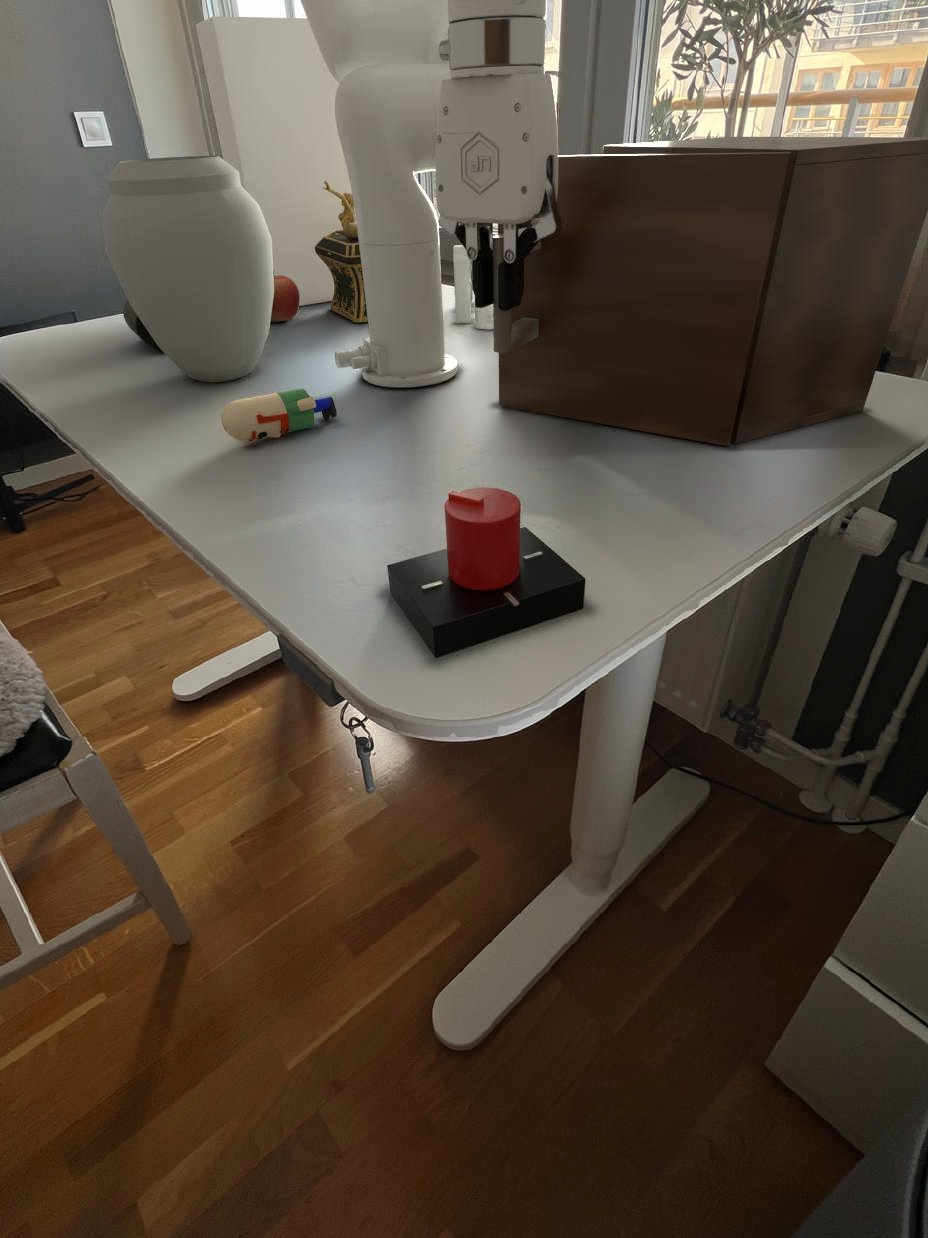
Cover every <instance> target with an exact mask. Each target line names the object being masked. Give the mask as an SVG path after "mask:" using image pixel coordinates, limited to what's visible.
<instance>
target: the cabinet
mask: <svg viewBox="0 0 928 1238" xmlns="http://www.w3.org/2000/svg"><path fill="white" fill-rule="evenodd" d="M774 152H791V153H792V154H791V159H790V163H789V168H788V173H787V178H786V182H785V187H784V192H783V197H782V201H781V206H780V211H779V216H778V220H777V225H776V230H775V235H774V239H773V244H772V249H771V254H770V258H769V263H768V268H767V273H766V277H765V282H764V287H763V292H762V296H761V301H760V306H759V311H758V315H757V320H756V325H755V330H754V334H753V339H752V344H751V349H750V353H749V358H748V363H747V368H746V372H745V377H744V382H743V387H742V391H741V396H740V401H739V406H738V410H737V415H736V420H735V425H734V429H733V434H732V439H731V443H730V444H733V445H737V444H742V443H745V442H749V441H753V440H757V439H760V438H763V437H768V436H771V435H775V434H780V433H784V432H788V431H791V430H795V429H799V428H802V427H806V426H810V425H814V424H817V423H822V422H825V421H829V420H833V419H836V418H840V417H844V416H848V415H852V414H855V413H859V412H862V411H864V408H865V406H866V402H867V401H868V396H869V394H870V390H871V387H872V384H873V381H874V378H875V374H876V371H877V369H878V366H879V363H880V359H881V357H882V353H883V350H884V347H885V345H886V341H887V338H888V334H889V332H890V329H891V327H892V326H891V325H892V323H893V320H894V316H895V313H896V310H897V308H898V307H897V306H898V304H899V301H900V298H901V295H902V292H903V289H904V286H905V282H906V279H907V276H908V274H909V270H910V267H911V265H912V260H913V257H914V255H915V252H916V248H917V246H918V242H919V239H920V236H921V234H922V230H923V227H924V224H925V221H926V218H927V215H928V136H926V137H922V136H920V137H919V136H918V137H917V136H914V137H912V136H910V137H908V136H875V137H874V136H721V137H708V138H693V139H692V138H691V139H679V140H678V139H677V140H664V141H649V142H636V143H619V144H605V145H602V155H631V154H703V153H774Z"/></svg>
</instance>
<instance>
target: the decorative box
mask: <svg viewBox="0 0 928 1238" xmlns="http://www.w3.org/2000/svg"><path fill="white" fill-rule="evenodd" d="M324 183H325V184H326V188H325V187H323V188H324V189H326V190H327V191H329V192H331V193H333V194H334V195H336V196H337V197H338V198H340V199H341V200H342V201H341V202H342V206H344V212H343V213H341V214H339V216H338V218H339V220H340V221H341V225H342V228H343V230H340V231H335V232H333V233H331V234H329V235H327V236H324V237H323V238H322V239H321V240H320V241H319V242H318V243H317V244H316V245H315V252H316V254H317V255H318V256H319V257H320V258H321V260H322V261H323V262H324V263H325V264H326V265H327V267H328V268H329V270H330V272H331V274H332V277H333V281H334V295H333V299H332V301H331V303H330V307H329V309H330V310H331V311H332V312H334V313H337V314H338V315H340V316H341V317H344V318H346V319H348V320H350V321H351V322H353V323H355V324H365V323H368V316H367V307H366V298H365V290H364V281H363V272H362V264H361V255H360V246H359V240H358V231H357V223H355V222H356V217H355V211H354V201H353V195H352V194H350V193H349V194H348V193H344V194H343V195H344V196H343V195H342V194H340V193H338V192H336V191H333V190H331V189H330V186H329V185H328V183H327V182H326V181H324ZM336 233H338V234H336ZM335 234H336V235H335Z"/></svg>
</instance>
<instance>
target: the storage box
mask: <svg viewBox="0 0 928 1238" xmlns="http://www.w3.org/2000/svg"><path fill="white" fill-rule="evenodd" d="M195 29H196V35H197V38H198V45H199V49H200V53H201V59H202V63H203V68H204V73H205V78H206V82H207V88H208V92H209V97H210V102H211V107H212V112H213V116H214V122H215V127H216V131H217V135H218V140H219V144H220V150H221V156H222V159H223V160H224V161H225V162H227V163H228V164H230V165H231V166H232V167H234V168H235V169H237V170H238V171H239V176H240V183H241V186H242V187H243V188H244V189H245V190H246V191H247V192H248V193H249V194H250V196H251V197H252V198H253V199H254V200H255V201H256V202H257V203H258V204H259V206H260V208H261V211H262V214H263V216H264V219H265V222H266V224H267V227H268V230H269V232H270V235H271V238H272V255H273V269H274V276H279V275H282V276H285V277H288V278H290V279H291V280H292V281H293V282H294V283H295V284H296V286H297V288H298V290H299V294H300V303H299V307H302V306H307V305H314V304H320V303H327V302H332V299H333V295H334V281H333V277H332V274H331V272H330V270H329V268H328V267H327V265H326V264H325V263H324V262H323V261H322V260H321V258H320V257H319V256H318V255H317V254H316V252H315V245H316V244H317V243H318V242H319V241H320V240H321V239H322V238H323V237H324V236H327V235H329V234H331V233H333V232H335V231H340V230H343V228H342V225H341V221H340V220H339V218H338V216H339V214H341V213H343V212H344V206H342V202H341V201H342V200H341V199H340V198H338V197H337V196H336V195H334V194H333V193H331V192H329V191H327V190H326V189H324V188H323V187H325V188H326V184H325V183H324V181H326V182H327V183H328V185H329V186H330V189H331V190H333V191H336V192H338V193H340V194H342V195H343V194H344V193H348V194H349V193H350V194H352V189H351V184H350V179H349V174H348V170H347V166H346V162H345V158H344V154H343V150H342V146H341V142H340V139H339V135H338V130H337V125H336V119H335V96H336V92H337V88H338V86H339V84H340V83H339V82H337V80H336V79H335V78H334V77H333V76H332V74H331V73H330V71H329V69H328V67H327V65H326V63H325V61H324V59H323V56H322V54H321V52H320V49H319V47H318V44H317V42H316V39H315V36H314V34H313V31H312V29H311V26H310V24H309V21H308V18H307V17H305V18H304V17H263V16H261V17H259V16H257V17H256V16H210V17H209V18H206V19H205V20H204V19H203V20H202V21H200V22H199V23H196V24H195ZM343 196H344V195H343ZM354 211H355V208H354ZM355 217H356V215H355ZM355 223H356V222H355ZM336 234H338V233H336ZM336 234H335V235H336Z"/></svg>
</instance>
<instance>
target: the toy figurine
mask: <svg viewBox="0 0 928 1238" xmlns="http://www.w3.org/2000/svg"><path fill="white" fill-rule="evenodd" d="M318 413H321V415H322V418H323V420H324V421H330V420H331V418H336V417H337V416H338V411H337V407H336V403H335V400H334V398H333V397H332V396H327V397H321V398H314V397H313V396H310V395H309V393H308V391H306V390H305V389H304V388H297V389H291V390H285V391H280V392H274V393H267V394H262V395H257V396H251V397H245V398H240V399H235V400H231V401H229V402H228V403H227V404H226V405H225V406H224V407H223V409H222V411H221V416H220V420H221V425H222V428H223V429H224V431H225V432H226V433H227V435H229V437H231V438H233V439H235V440H237V441H241V442H242V441H243V442H244V441H248V442H254V441H255V440H263V439H264V438H274V439H279V438H281V436H283V435H287V434H288V433H290V432H295V431H299V430H304V429H311V428H312V427H314V425H315V416H316V415H315V414H318Z"/></svg>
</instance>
